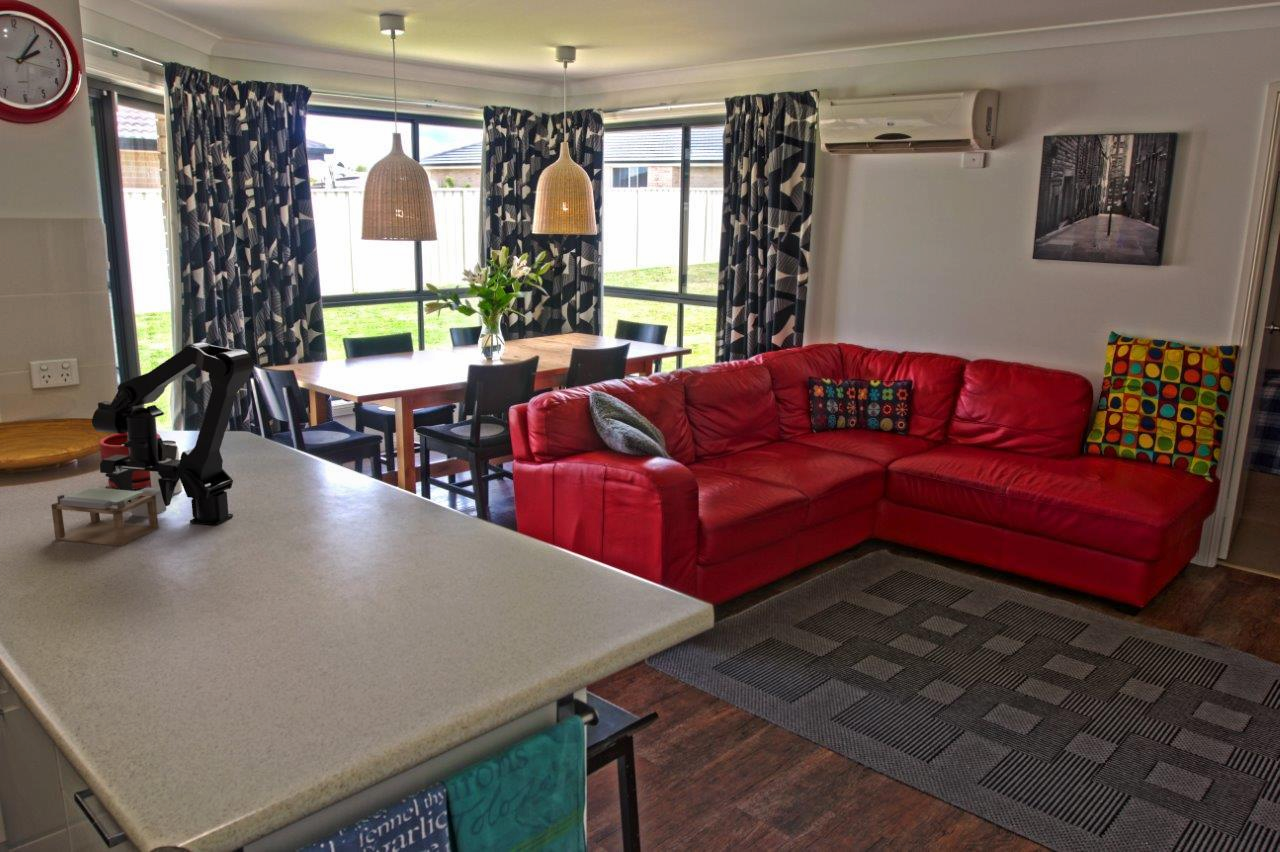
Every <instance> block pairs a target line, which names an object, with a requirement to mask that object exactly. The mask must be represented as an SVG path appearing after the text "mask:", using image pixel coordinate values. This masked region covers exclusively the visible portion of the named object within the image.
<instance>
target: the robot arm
mask: <svg viewBox="0 0 1280 852" xmlns="http://www.w3.org/2000/svg"><path fill="white" fill-rule="evenodd" d="M195 367H198V368H199V369H200V370H201V371H203V372H205V373H208V379H209V383H210V386H211V392H210V394H209V398H208V401H207V406H206V408H205V411H204V415H203V418H202V423H201V425H200V429H199V432H198V436H197V440H196V442H195V445H194V447H193V448H190V449H187V450H185V451H182V452H181V454H180V458H179V459H180V460H176V453H177V447H178V445H177V446H173V445H166V444H163V441H164V440H163V439H162V437H161V438H158V437H157V434H158V431H157V420H156V418H158V417H161V416H163V415H165V413H164V411H163V410H162V409H160V408H159V407H157V406H156V405H155V404H152V405H149V404H151V403H154V402H156V401H158V399H159V398H160V397H161V396H162V395H163V394H164V393H165V389H166V388H167V386H169V385H170V384H171V383H173V382H174V381H176V380H178V379H179V378H180V377H182V376H183V375H185V374H186V373H188V372H190V371H191V370H193V369H194V368H195ZM254 367H255V360H253V358H252V355H251V354H250V353H249V352H248V351H246V350H245V349H242V348H238V349H233V348H228V347H223V346H219V345H218V346H217V345H212V344H210V343H207V342H204V341H203V342H201V341H200V342H195V343H190V344H187V345H185V346H184V347H183V348H182V350H180V351H179V352H177V353H176V354H173V355H172V356H170V358H168V359H167V360H165V361H163V362H162V363H160V364H159V365H158V366H156V367H154V368H153V369H151V370H150V371H148V372H147V373H145V374H142V375H141V374H140V375H138V376H135V377H132V378H129V379H127V380H125V381H122V382H121V383H119V385H118V386H117V393H116V394H115V396H114V398H113V399H112V401H109V400H105V401H100V402H98V403H97V406H98V407H97V408H96V409H95V411H94V413H93V415H92V418H91V424H92V427H93V429H94V430H95V431H97V432H99V433H108V434H125V433H127V436H128V441H127V442H124V444H123V445H124V447H129V456H127V455H114V456H111V457H108V458H105V459H102V458H101V461H100V462H99V464H98V465H99V473H101V474H105V477H107V478H108V479H109V478H110V479H111V480H112V481H113V483H114V484H115V485H116V486H117V487H118V488H117V489H118V490H129V491H134V489H133V488H132V475H133V472H134V470H144V471H155V472H158V474H159V475H160V477H161V478H160V479H158V482H159V486H160V490H161V494H162V498H163V501H164V504H165V506H166V507H169V506H170V505H171V502H172V499H173V493H174V489H175V487H176V484H177V482H178V480H179V479H180V480H181V483H182V489H183V490H184V493H185V496H186V497H187V498H188V499H189V498H191V500H190V501H191V509H192V510H191V511H192V519H190V520H189V523H191V524H198V525H199V524H200V525H208V526H216V525H220V524H221V523H223V522H225V521H227V520H229V519H231V518H233V517H234V514H233V513H229V504H228V503H229V502H228V492H227V490H231V489H232V487H233V483H234V480H233V478H232V477H231V476H230V475H229V474H228V473H227V472H226V471H225V469H224V468H223V462H224V461H223V457H222V453H221V451H220V450H221V447H222V443H223V440H224V436H225V433H226V430H227V426H228V423H229V421H230V417H231V414H232V412H233V411H232V410H233V408H234V404H235V400H236V398H237V394H238V393H239V391H240V390H241V389H242V388H243V386H244V385H245V384H246V383H247V382H248V380H249V379H250V376H251V375H252V372H253V370H254ZM147 404H148V406H147V407H141V406H144V405H147ZM133 408H134V409H133ZM166 458H170V459H172V460H171V461H168V462H165V463H160V461H165V460H166ZM150 466H152V467H150ZM206 485H207V486H206ZM127 503H128V504H129V503H131V500H129V501H127Z"/></svg>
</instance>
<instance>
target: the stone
mask: <svg viewBox="0 0 1280 852" xmlns="http://www.w3.org/2000/svg"><path fill="white" fill-rule="evenodd" d="M138 491H140V492H143V494H150V495H155V497H156V507H157V515H159V514H162V513H163V512H165V511H167V506H165V504H164V501H163V498H162V494H161V490H160V489H158V488H151V487H145V488H140V490H139V489H138ZM136 500H139V499H131V502H130V503H132V502H134V501H136ZM131 510H132V512H131V514H132V516H134V517H135V516H137V517H145V518H147V517H148V508H147V503H145V504H142V505H140V506H138V507H135V508H133V509H131Z"/></svg>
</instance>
